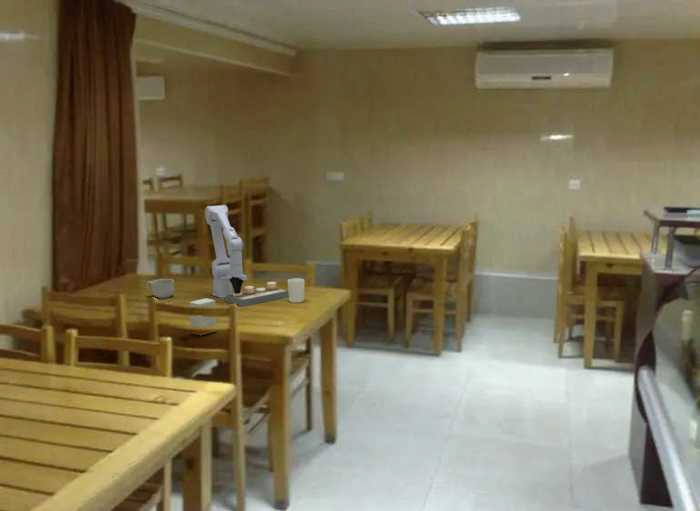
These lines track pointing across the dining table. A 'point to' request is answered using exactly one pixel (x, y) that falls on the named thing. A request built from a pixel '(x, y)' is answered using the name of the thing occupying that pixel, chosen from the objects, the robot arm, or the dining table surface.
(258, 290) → the button
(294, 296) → the white cup
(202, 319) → the small box
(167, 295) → the teacup
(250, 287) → the button
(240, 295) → the button
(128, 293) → the dining table surface
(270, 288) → the button
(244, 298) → the board
